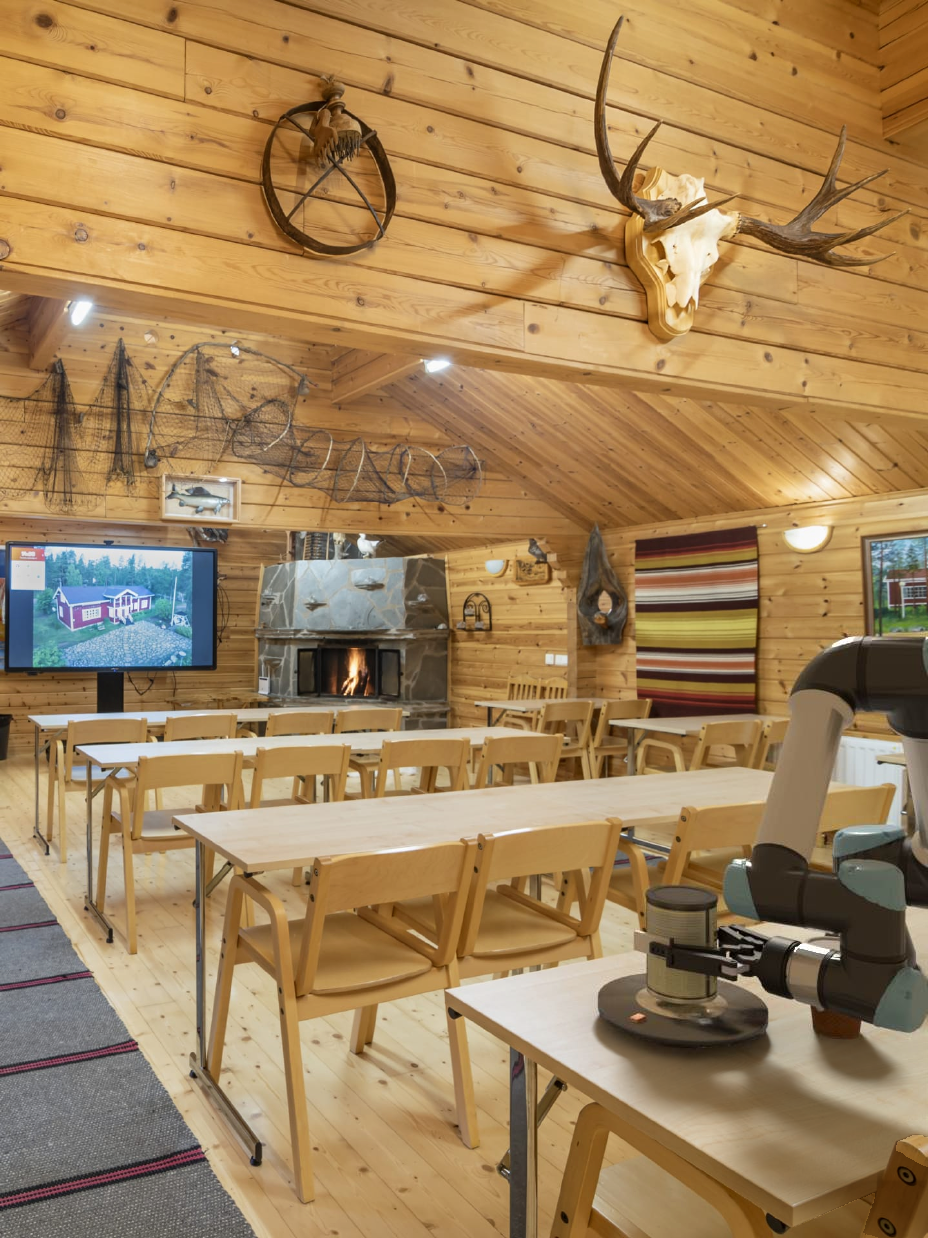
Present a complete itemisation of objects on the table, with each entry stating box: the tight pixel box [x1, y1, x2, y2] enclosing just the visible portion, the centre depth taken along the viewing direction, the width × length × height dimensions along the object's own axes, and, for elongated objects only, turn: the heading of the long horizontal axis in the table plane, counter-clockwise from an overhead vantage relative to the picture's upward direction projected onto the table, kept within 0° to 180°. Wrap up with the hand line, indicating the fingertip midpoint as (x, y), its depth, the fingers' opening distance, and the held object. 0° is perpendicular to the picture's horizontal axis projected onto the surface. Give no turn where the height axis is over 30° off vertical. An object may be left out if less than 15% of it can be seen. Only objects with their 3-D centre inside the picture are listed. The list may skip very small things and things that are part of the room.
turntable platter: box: [597, 972, 769, 1049], centre depth 136 cm, size 24×24×2 cm
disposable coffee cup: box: [803, 935, 862, 1039], centre depth 135 cm, size 10×10×12 cm
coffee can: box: [645, 884, 719, 1004], centre depth 136 cm, size 10×10×14 cm
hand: (656, 932), depth 139 cm, fingers closed on coffee can, 10 cm apart
